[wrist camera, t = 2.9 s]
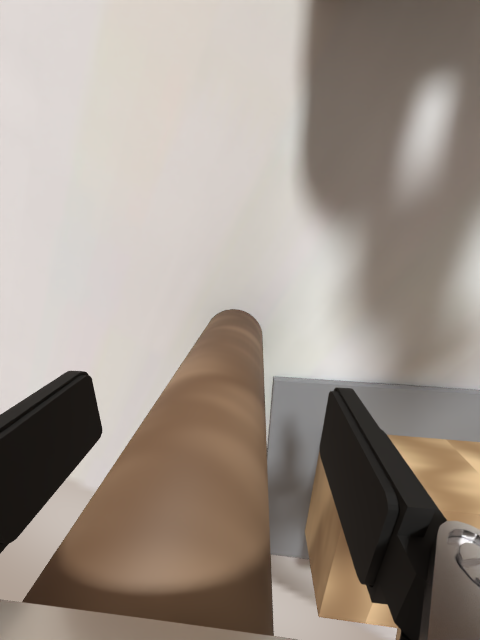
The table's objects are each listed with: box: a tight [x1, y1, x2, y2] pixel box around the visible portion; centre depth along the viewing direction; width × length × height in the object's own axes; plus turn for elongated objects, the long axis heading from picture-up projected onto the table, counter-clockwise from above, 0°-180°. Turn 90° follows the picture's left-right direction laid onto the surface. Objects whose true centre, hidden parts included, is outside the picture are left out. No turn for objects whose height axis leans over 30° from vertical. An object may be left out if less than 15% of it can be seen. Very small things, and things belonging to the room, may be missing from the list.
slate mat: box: [267, 377, 480, 559], centre depth 18 cm, size 20×20×1 cm
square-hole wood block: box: [305, 435, 480, 628], centre depth 16 cm, size 12×12×5 cm
